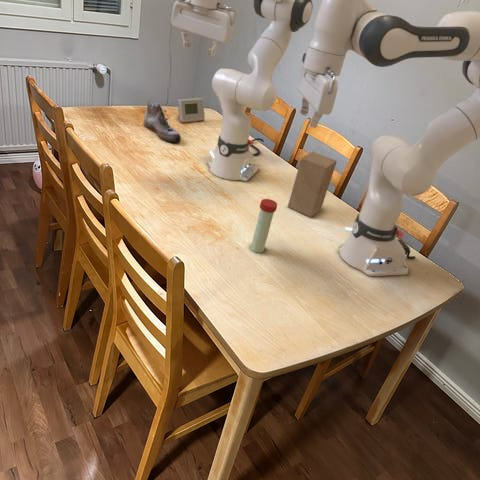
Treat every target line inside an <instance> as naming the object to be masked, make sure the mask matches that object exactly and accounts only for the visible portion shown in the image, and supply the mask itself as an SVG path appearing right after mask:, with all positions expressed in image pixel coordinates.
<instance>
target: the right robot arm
mask: <svg viewBox="0 0 480 480" xmlns="http://www.w3.org/2000/svg"><path fill="white" fill-rule="evenodd" d="M349 51H352V52H354V53H356V54H357V55H358V56H360V57H362V58H363V59H365V60H367V61H368V62H369V63H370V64H372V65H373V66H375V67H378V68H387V67H391V66H393V65H396V64H399V63H400V62H403V61H405V60H410V59H417V58H421V59H422V58H440V59H443V60H448V61H455V62H463V63H462V68H461V69H462V70H461V71H462V76H464V78H465V80H466V81H467V82H468V83H470V84H471V85H473V86H475V87H476V89H475V91H474V92H472V94H471V95H470V96H469V97H468V98H467V99H465V100H463V101H461V102H460V103H458V104H456V105H454V106H452V107H451V108H449V109H448V110H447V111H445V112H443V113H442V114H440V115H439V116H437V117H435V118H434V119H432V120H430V121H429V122H428V123H427V124H426V126H425V128H424V133H423V135H422V136H421V137H420V138H419V140H418V141H416V142H415V143H413V144H412V145H411V144H410V143H409V142H408V141H406V140H405V139H403V138H401V137H400V136H396V135H394V134H384V135H381V136H379V137H377V138H376V139H375V140H374V141H373V143H372V144H371V146H370V148H369V149H370V150H369V156H370V169H369V179H368V184H367V185H368V186H367V191H366V195H365V198H364V200H363V202H362V205H361V208H360V211H359V213H358V214H357V216H356V217H355V220H354V222H353V225H352V227H347V226H345V228H344V230H346V231H351V232H350V234H349V235H348V237H347V239H346V241H345V242H344V243H343V245H342V246H341V247H340V249H339V250H338V251H339V252H338V253H339V256H340V257H341V259H342V260H343V261H344V262H345V263H346V264H348V265H349V266H350V267H353V268H355V269H357V270H359V271H361V272H363V273H364V274H365V275H367V276H369V277H382V276H385V277H386V276H399V275H408V273H409V266H408V263H407V262H406V259H408V260H412V259H416V256H415V255H413V256H410V254H411V248H410V246H408V244H407V243H406V242H405V241H404V240H403V239H401V238H403V237H404V232H403V231H402V230H401V229H398V228H399V227H398V226H397V225H396V224H397V222H398V220H399V217H400V215H401V212H402V210H403V208H404V198H403V194H405V195H406V196H410V197H417V196H421V195H423V194H424V193H426V192H427V191H429V190H430V188H432V186H433V184H434V183H435V180H436V174H437V172H438V170H439V169H440V167H442V165H443V164H444V163H445V162H446V161H448V159H450V158H451V157H452V156H454V155H455V154H456V153H458V152H459V151H462V149H464V148H466V147H467V146H469V145H470V144H472V143H474V142H475V141H477V140H479V139H480V10H461V11H453V12H449V13H446V14H445V15H444V16H443V17H442V18H441V19H439V21H438V23H437V24H436V25H413V24H411V23H410V22H409V21H407V20H405V19H404V18H402V17H400V16H396V15H391V14H387V13H384V12H382V11H379V10H378V9H377V8H375V6H373V5H372V4H371V3H370V2H369V1H368V0H321V2H320V4H319V8H318V11H317V13H316V17H315V21H314V25H313V35H312V38H311V40H310V42H309V45H308V48H307V51H304V52H303V53H302V55H301V63H302V65H301V68H300V73H299V78H298V84H297V91H298V92H299V94H301V99H300V109H299V113H300V114H301V115H302V116H308V114H309V110H310V109H309V107H311V108H312V109H313V110H312V115H311V117H310V118H309V120H308V121H309V122H308V125H309V127H310V128H312V129H313V128H314V129H316V128H317V127H318V124H319V122H320V120H321V119H322V117H323V115H330V114H331V113H332V111H333V109H334V106H335V102H336V98H337V93H338V89H339V82H338V80H337V79H336V77H340V75H341V72H342V69H343V65H344V62H345V58H346V56H347V53H348V52H349Z"/></svg>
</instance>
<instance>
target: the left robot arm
mask: <svg viewBox="0 0 480 480" xmlns="http://www.w3.org/2000/svg"><path fill="white" fill-rule="evenodd" d="M222 1H223V0H175V1H174V3H173V6H172V12H171V24H172V27H173V28H176V29H179V30H180V36H181V38H182V47H183V48H187V49H191V44H192V41H190V40H189V35H190V33H191V34H194V35H198V36H200V37H204V38H206V39H210V40H213V41H212V47H211V48H208V53H207V56H209V57H213V58H214V57H216V54H217V50H219V48H220V46H221V45H222V44H230V43H231V42H232V41H233V40H234V33H235V22H236V21H235V20H236V12H235V10H234V9H233V7H232V6H230V5H225V4H223V3H222ZM313 8H314V5H313V1H312V0H253V9H254V12H255V14H256V15H257V16H258V17H261V18H262V19H267V20H270V24H269V25H268V26H267V28H265V29H264V30H263V32H262V33H261V34H260V36H259V38H258V39H257V40H256V41H255V43H254V45H253V46H252V47H251V49H250V51H249V52H248V55H247V64H248V67H249V69H250V70H251V72H250V73H245V72H242V71H239V70H237V69H234V68H225V67H223V68H222V67H221V68H219V69H218V70H216V71H215V73H214V74H213V77H212V80H211V89H212V91H213V93H214V94H215V95H216V97H217V99H218V101H219V104H220V108H221V114H222V115H221V116H222V118H221V120H222V121H221V127H220V135H219V136H218V139H217V145H216V146H215V147H214V149H213V151H212V150H210V151H209V154H210V155H211V160H209V161H208V164H207V165H208V166H209V170H210V172H211V173H212V174H213V175H215V176H216V177H218V178H220V179H225V180H229V181H242V182H247V181H249V179H251V177H253V176H254V175H255V174H256V173H257V172H258V171H259V166H257V165H255V164H254V163H255V157H256V156H258V155H259V154H260V153H261V150H260V149H259V148H258V147H256V146H255V145H254V144H253V143H254V142H257V141H261V142H262V143H264V142H265V141H264V139H263V138H259V137H256V138H253V139H252V140H251V139H249V138H250V133H251V129H252V121H251V118H250V117H249V116H248V115H247V113H246V112H245V109H244V107H245V108H247V109H250V110H253V111H258V112H259V111H260V112H267V111H269V110H270V109H271V108H273V106H274V104H275V102H276V100H277V90H276V87H275V85H274V83H273V75H274V72H275V70H276V68H277V66H278V65H279V63H280V62H281V60H282V58H283V57H284V55H285V53H286V51H287V49H288V47H289V45H290V43H291V40H292V36H293V33H297V32H298V31H299V30H300V29H302V28H304V26H305V25H307V23H309V21H310V19H311V16H312V13H313ZM250 147H251V148H253V149H254V150H256V151H257V152H255V153H252V152H251V151H250Z"/></svg>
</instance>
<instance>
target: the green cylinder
mask: <svg viewBox="0 0 480 480" xmlns="http://www.w3.org/2000/svg"><path fill="white" fill-rule="evenodd" d="M274 215H275V212H273V213H268V212H265V211H263V210H261V209H260V208H259V213H258V218H257V221H256V225H255V226H256V227H255V230H254V233H253V237H252V242H251V246H250V249H251V251H253V252H255V253H257V254H258V253H263V252H264V251H265V248H266V242H267V239H268V236H269V232H270V229H271V225H272V221H273V217H274Z"/></svg>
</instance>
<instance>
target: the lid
mask: <svg viewBox="0 0 480 480" xmlns="http://www.w3.org/2000/svg"><path fill="white" fill-rule="evenodd" d="M277 208H278V203H277V202H276V201H275V200H273V199H270V198H262V199H261V201H260V205H259V210H260V209H261V210H263V211H265V212H268V213H273V212H274V213H275V212H276V211H277Z"/></svg>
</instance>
